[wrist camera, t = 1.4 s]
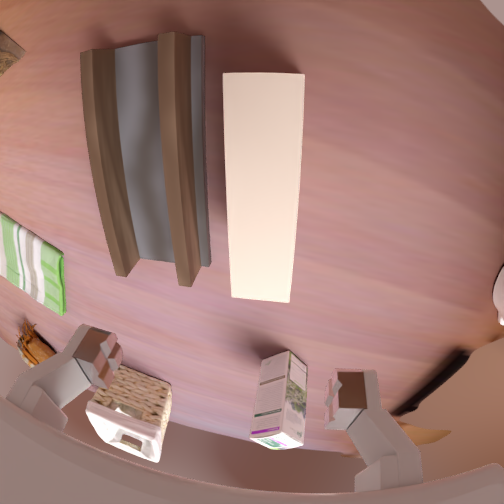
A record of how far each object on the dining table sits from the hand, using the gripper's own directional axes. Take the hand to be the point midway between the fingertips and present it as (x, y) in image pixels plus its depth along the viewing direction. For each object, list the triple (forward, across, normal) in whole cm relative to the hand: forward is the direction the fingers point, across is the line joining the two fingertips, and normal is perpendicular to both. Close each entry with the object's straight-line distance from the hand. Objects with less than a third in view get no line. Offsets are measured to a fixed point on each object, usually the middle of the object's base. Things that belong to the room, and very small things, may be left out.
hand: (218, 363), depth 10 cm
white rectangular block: (+23, 0, 0) cm, 23 cm away
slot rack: (+23, +13, 0) cm, 26 cm away
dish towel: (+25, +45, +19) cm, 55 cm away
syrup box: (+23, -5, +32) cm, 40 cm away
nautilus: (+25, +55, +48) cm, 77 cm away
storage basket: (+24, +25, +56) cm, 66 cm away
